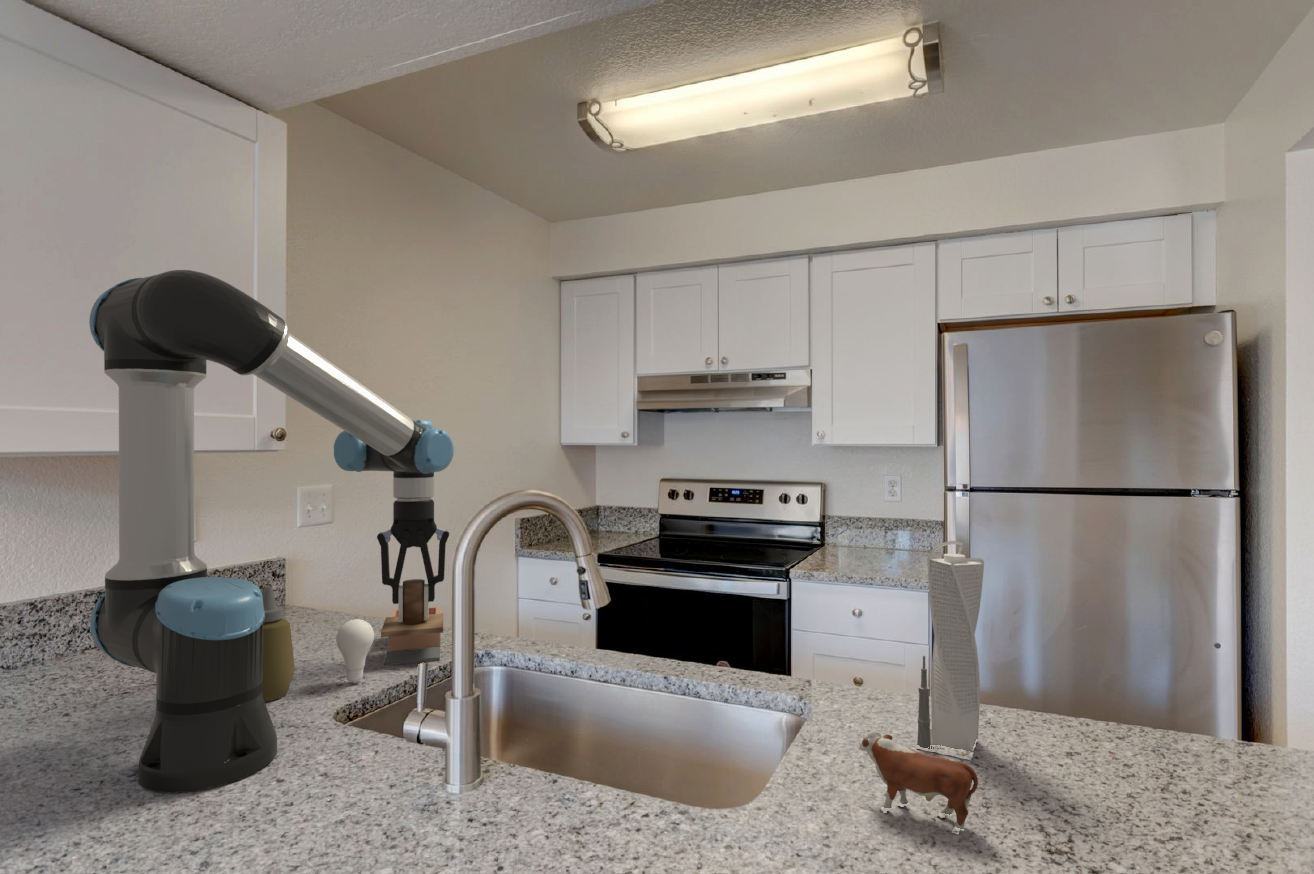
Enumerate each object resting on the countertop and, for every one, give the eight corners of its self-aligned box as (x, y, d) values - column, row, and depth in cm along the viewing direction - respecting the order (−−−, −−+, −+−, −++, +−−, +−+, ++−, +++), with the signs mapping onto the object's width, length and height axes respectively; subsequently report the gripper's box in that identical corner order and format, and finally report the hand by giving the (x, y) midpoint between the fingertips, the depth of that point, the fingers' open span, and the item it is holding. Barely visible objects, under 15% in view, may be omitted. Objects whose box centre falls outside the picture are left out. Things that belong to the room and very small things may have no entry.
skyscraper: (927, 727, 103) (927, 538, 103) (987, 739, 99) (987, 542, 99) (916, 748, 96) (916, 545, 96) (980, 762, 91) (980, 549, 92)
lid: (380, 637, 128) (380, 588, 128) (385, 622, 139) (386, 577, 139) (443, 632, 132) (443, 585, 132) (443, 618, 142) (443, 574, 142)
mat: (384, 664, 131) (384, 661, 131) (387, 654, 138) (387, 651, 138) (439, 660, 134) (439, 657, 134) (440, 649, 140) (440, 646, 140)
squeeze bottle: (251, 709, 109) (252, 594, 109) (229, 698, 114) (230, 588, 114) (303, 695, 115) (304, 586, 115) (281, 684, 120) (281, 580, 120)
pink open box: (388, 650, 140) (388, 620, 140) (392, 637, 149) (392, 609, 150) (440, 646, 143) (440, 617, 143) (440, 633, 152) (440, 606, 152)
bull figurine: (863, 788, 85) (863, 720, 85) (981, 826, 76) (981, 752, 76) (848, 802, 81) (848, 732, 81) (970, 844, 73) (970, 766, 73)
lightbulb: (335, 679, 123) (336, 617, 123) (373, 675, 125) (373, 613, 125) (335, 691, 117) (336, 625, 117) (374, 685, 120) (375, 621, 120)
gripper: (459, 496, 141) (458, 611, 141) (368, 498, 137) (368, 617, 136) (459, 499, 134) (459, 620, 134) (364, 501, 129) (364, 627, 129)
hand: (413, 618), depth 135 cm, fingers closed on lid, 4 cm apart
